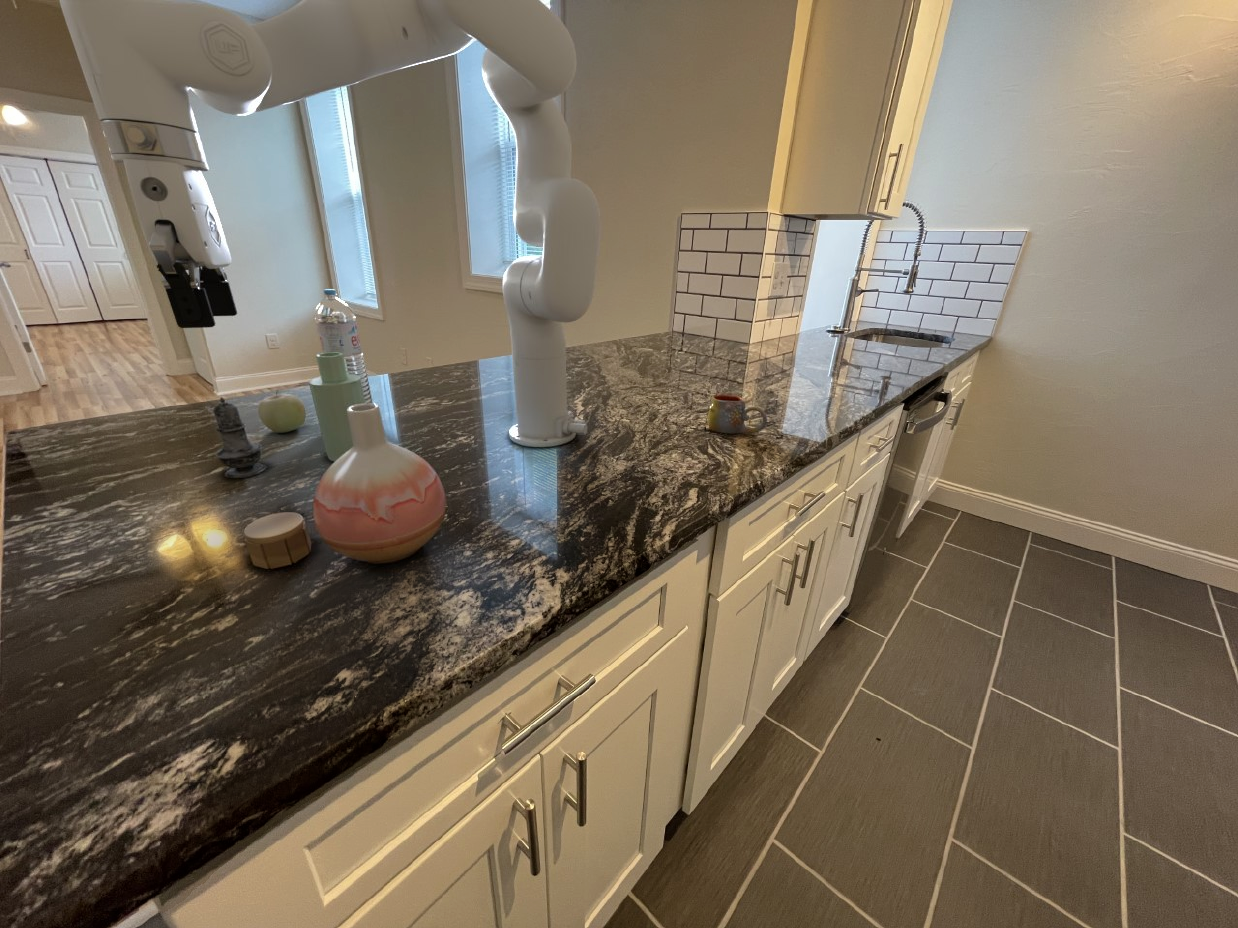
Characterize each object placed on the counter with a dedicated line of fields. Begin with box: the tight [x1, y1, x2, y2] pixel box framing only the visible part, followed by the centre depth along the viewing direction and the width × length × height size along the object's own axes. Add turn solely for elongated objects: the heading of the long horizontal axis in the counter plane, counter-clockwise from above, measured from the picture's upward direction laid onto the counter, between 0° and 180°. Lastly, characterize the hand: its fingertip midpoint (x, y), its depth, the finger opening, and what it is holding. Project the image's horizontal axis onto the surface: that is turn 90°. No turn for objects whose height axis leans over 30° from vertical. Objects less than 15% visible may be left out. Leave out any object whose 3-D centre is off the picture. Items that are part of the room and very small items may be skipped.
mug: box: [706, 394, 768, 435], centre depth 95 cm, size 12×7×7 cm, turn 50°
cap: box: [243, 511, 312, 570], centre depth 55 cm, size 6×6×4 cm
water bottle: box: [313, 288, 374, 404], centre depth 94 cm, size 7×7×25 cm
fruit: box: [257, 389, 307, 434], centre depth 91 cm, size 8×7×8 cm
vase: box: [312, 403, 447, 565], centre depth 54 cm, size 14×14×18 cm
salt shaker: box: [212, 397, 267, 479], centre depth 73 cm, size 6×6×12 cm
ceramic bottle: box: [308, 352, 365, 463], centre depth 79 cm, size 7×7×17 cm
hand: (210, 321), depth 57 cm, fingers open, 9 cm apart
